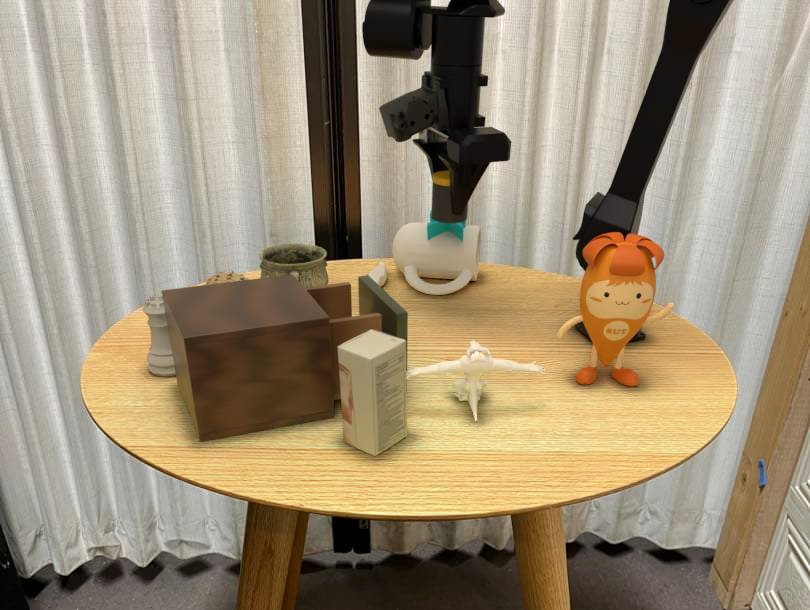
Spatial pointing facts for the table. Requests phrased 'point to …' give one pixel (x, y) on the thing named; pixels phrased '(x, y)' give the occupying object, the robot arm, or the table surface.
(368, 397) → the printed medicine carton
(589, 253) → the toy figure
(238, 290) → the cabinet
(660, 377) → the table surface
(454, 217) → the yellow and grey canister
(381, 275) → the pale tapered spike
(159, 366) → the rook chess piece
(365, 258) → the table surface
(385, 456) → the table surface
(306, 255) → the vessel
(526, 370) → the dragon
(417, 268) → the mug
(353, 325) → the drawer
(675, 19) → the robot arm
